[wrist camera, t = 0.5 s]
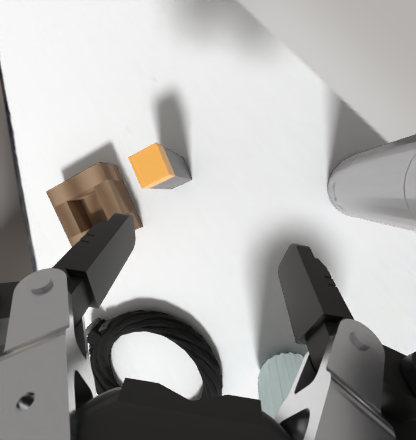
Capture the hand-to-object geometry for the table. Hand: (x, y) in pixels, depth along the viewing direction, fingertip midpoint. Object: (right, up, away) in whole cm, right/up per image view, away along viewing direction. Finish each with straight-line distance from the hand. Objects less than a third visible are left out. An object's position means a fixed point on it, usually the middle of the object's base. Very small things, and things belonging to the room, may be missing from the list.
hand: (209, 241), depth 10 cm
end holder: (-20, +3, +27) cm, 33 cm away
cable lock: (-12, -29, +30) cm, 43 cm away
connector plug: (-5, +9, +23) cm, 25 cm away
